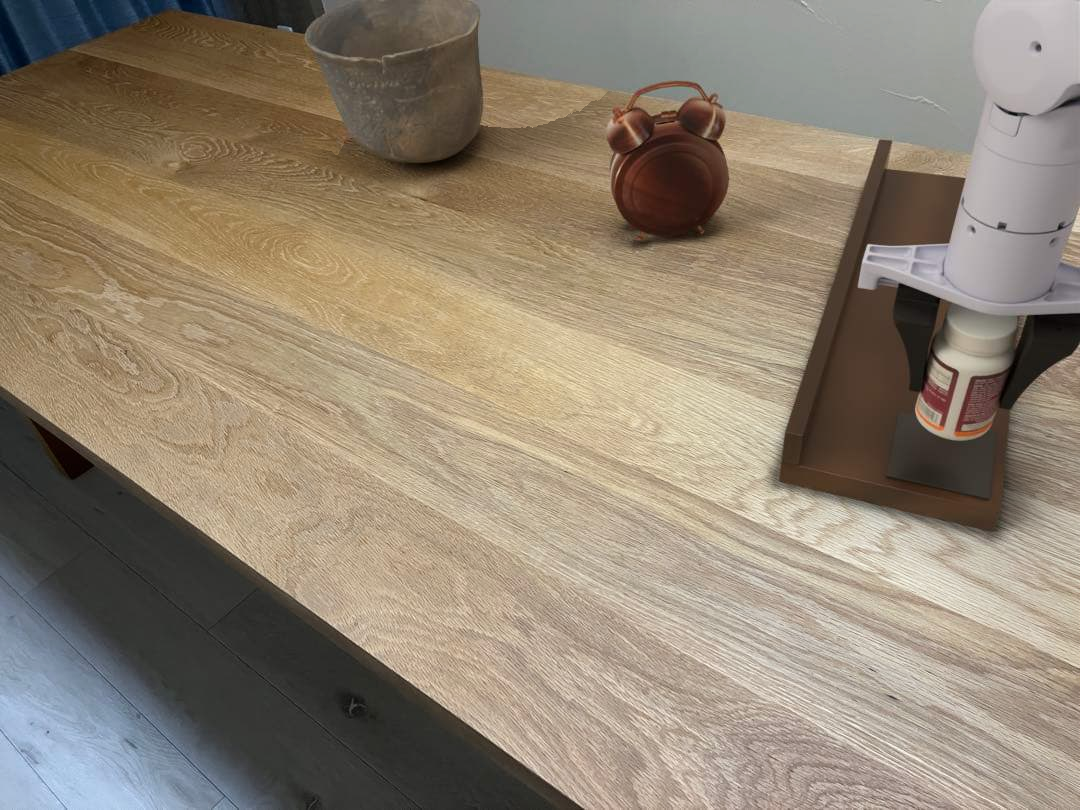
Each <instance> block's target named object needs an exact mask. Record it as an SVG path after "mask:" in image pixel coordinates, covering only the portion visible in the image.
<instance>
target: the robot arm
mask: <svg viewBox="0 0 1080 810" xmlns="http://www.w3.org/2000/svg"><path fill="white" fill-rule="evenodd" d="M974 29H975V30H974V34H973V39H972V61H973V67H974V72H975V74H976V77H977V80H978V82H979V84H980V86H981V88H982V90H983V91H984V93H985V94H986V96H985V101H984V103H983V104H984V105H983V109H982V112H981V116H980V120H979V123H978V127H977V128H978V129H977V133H976V137H975V140H974V145H973V147H972V152H971V156H970V160H969V164H968V168H967V172H966V175H965V178H966V179H965V183H964V187H963V191H962V195H961V199H960V203H959V207H958V210H957V215H956V218H955V222H954V226H953V230H952V234H951V238H950V242H949V244H930V245H909V246H882V245H873V244H868V245H867V247H866V251H865V254H864V257H863V261H862V266H861V271H860V277H859V282H858V288H863V289H869V290H875V289H877V287H878V284H879V285H885V286H891V287H898V289H897V294H896V298H895V302H894V307H893V320H894V325H895V326H896V328H897V330H898V332H899V334H900V336H901V339H902V341H903V344H904V347H905V350H906V354H907V358H908V364H909V373H910V384H909V390H910V391H915V392H920V390H921V387H922V383H923V378H924V373H925V366H926V362H927V357H928V350H929V345H930V342H931V338H932V335H933V332H934V328H935V323H936V318H937V312H938V308H939V304H940V299H941V298H942V299H944V300H947V301H950V302H952V303H955V304H958V305H960V306H963V307H966V308H968V309H971V310H974V311H977V312H981V313H985V314H991V315H1000V316H1016V315H1019V316H1026V318H1025V320H1024V325H1023V327H1022V331H1021V334H1020V337H1019V339H1018V342H1017V345H1016V350H1015V358H1014V361H1013V364H1012V367H1011V369H1010V373H1009V375H1008V378H1007V381H1006V384H1005V387H1004V390H1003V393H1002V396H1001V399H1000V402H999V408H1002V409H1008V410H1010V411H1011V410H1012V408H1013V407H1014V405H1015V404H1016V403H1017V401H1018V400H1019V398H1020V397H1021V395H1023V393H1024V392H1025V391H1026V390H1027V389H1028V388H1029V387H1030V385H1032V384H1033V383H1034V382H1035V381H1036V379H1038V378H1039V377H1040V376H1041V375H1042V374H1043V373H1045V372H1046V371H1047V370H1049V369H1050V368H1051V367H1053V366H1054V365H1056V364H1057V363H1059V362H1060V361H1063V360H1065V359H1067V358H1068V357H1070V356H1072V355H1073V354H1074V353H1075V352H1076V350H1077V349H1078V348H1079V346H1080V266H1078V265H1076V264H1072V263H1069V262H1066V261H1063V260H1062V259H1063V255H1064V253H1065V251H1066V247H1067V244H1068V241H1069V239H1070V237H1071V233H1072V231H1073V228H1074V225H1075V222H1076V220H1077V216H1078V213H1079V210H1080V0H990V1H989V2H988V3H987V4H986V6H985V7H984V9H983V10H982V12H981V13H980V16H979V18H978V20H977V23H976V27H975V28H974Z"/></svg>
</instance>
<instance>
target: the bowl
mask: <svg viewBox="0 0 1080 810" xmlns="http://www.w3.org/2000/svg"><path fill="white" fill-rule="evenodd" d="M480 18H481V9H480V7H479V6H478V4H477V3H476V2H475V1H473V0H352V1H348V2H345V3H342V4H340V5H338V6H336V7H334V8H332V9H329V10H328V11H327V12H325V13H323V14H322V15H321V16H319V17H317V18H315V19H314V20H313V21H312V22H311V23H310V25H309V26H308V27H307V29H306V31H305V32H304V41H305V43H306V45H307V46H308V48H309V49H310V51H311V52H312V53H313V56H314V57H315V58H316V61H317V63H318V64H319V67H320V69H321V72H322V74H323V76H324V79H325V81H326V83H327V86H328V88H329V90H330V94H331V96H332V99H333V102H334V104H335V106H336V109H337V111H338V113H339V115H340V118H341V119H342V121H343V124H344V126H345V129H346V130H347V133H348V134H349V136H350V137H351V138H352V140H353V141H354V142H355V143H356V144H358V145H359V146H360V147H361V148H363V149H364V150H365V151H367V152H368V153H371V154H372V155H374V156H377V157H380V158H383V159H385V160H389V161H391V162H394V163H395V162H396V163H409V164H410V163H411V164H425V163H426V164H427V163H432V162H437V161H441V160H445V159H447V158H451V157H453V156H455V155H457V154H458V153H459V152H461V151H462V150H463V149H465V148H466V147H467V146H468V145H469V144H470V142H471V141H473V139H474V138H475V136H477V134H478V132H479V129H480V127H481V122H482V117H483V116H482V115H483V111H484V89H483V80H482V79H483V77H482V75H481V62H480V48H479V25H480V20H481V19H480Z"/></svg>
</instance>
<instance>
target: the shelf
mask: <svg viewBox="0 0 1080 810" xmlns="http://www.w3.org/2000/svg"><path fill="white" fill-rule="evenodd" d="M892 144H893V140H892V139H891V140H890V139H881V138H879V139H878V141H877V145H876V148H875V151H874V155H873V157H872V160H871V165H870V167H869V170H868V173H867V176H866V180H865V183H864V185H863V188H862V192H861V194H860V198H859V200H858V204H857V208H856V210H855V213H854V217H853V220H852V223H851V225H850V229H849V232H848V236H847V239H846V241H845V245H844V248H843V251H842V254H841V258H840V260H839V264H838V267H837V270H836V273H835V275H834V279H833V282H832V285H831V288H830V291H829V294H828V297H827V301H826V303H825V306H824V310H823V313H822V316H821V318H820V319H821V320H820V323H819V325H818V329H817V331H816V334H815V338H814V341H813V344H812V347H811V350H810V354H809V357H808V359H807V362H806V366H805V369H804V372H803V375H802V378H801V381H800V384H799V388H798V391H797V394H796V397H795V399H794V403H793V407H792V409H791V412H790V416H789V419H788V422H787V425H786V428H785V431H784V438H783V444H782V452H781V459H780V467H779V476H778V481H779V482H781V483H786V484H790V485H794V486H799V487H802V488H807V489H811V490H815V491H820V492H823V493H828V494H833V495H837V496H841V497H845V498H848V499H853V500H858V501H862V502H866V503H870V504H875V505H877V506H878V505H879V506H882V507H883V506H884V507H886V508H891V509H895V510H899V511H904V512H908V513H913V514H916V515H922V516H925V517H928V518H934V519H937V520H941V521H946V522H950V523H955V524H959V525H964V526H967V527H972V528H976V529H980V530H985V531H988V532H994V530H995V528H996V525H997V524H998V520H999V518H1000V515H1001V512H1002V502H1003V492H1004V481H1005V471H1006V470H1005V469H1006V461H1007V449H1008V440H1009V439H1008V438H1009V429H1010V417H1011V409H1010V410H1008V409H1002V408H999V405H998V407H997V410H996V414H995V416H994V419H993V422H992V425H991V427H990V428H989V430H988V431H987V432H986V433H984V434H983V435H982V436H980V437H977V438H974V439H971V440H963V441H957V440H950V439H946V438H943V437H940V436H938V435H935V434H933V433H931V432H930V431H928V430H927V429H926V428H925V427H923V426H922V425H921V423H920V422H919V420H918V419H917V416H916V413H915V406H916V402H917V398H918V394H919V392H915V391H910V390H909V384H910V373H909V364H908V358H907V354H906V350H905V347H904V344H903V341H902V339H901V336H900V334H899V332H898V330H897V328H896V326H895V325H894V320H893V307H894V302H895V298H896V294H897V289H898V287H891V286H885V285H879V284H878V287H877V289H875V290H869V289H863V288H858V282H859V277H860V271H861V266H862V261H863V257H864V254H865V251H866V247H867V245H868V244H873V245H882V246H909V245H930V244H949V242H950V238H951V234H952V230H953V226H954V222H955V218H956V215H957V210H958V207H959V203H960V199H961V195H962V191H963V187H964V183H965V179H966V177H961V176H954V175H953V176H952V175H944V174H936V173H926V172H920V171H919V172H918V171H910V170H909V171H908V170H900V169H891V168H888V166H889V161H890V156H891V151H892V146H893V145H892ZM951 304H952V302H950V301H947V300H944V299H942V298H941V299H940V304H939V308H938V312H937V318H936V323H935V328H934V332H933V335H932V338H931V342H932V339H933V337H934V335H935V334H936V332H937V331H938V330H939V329H940V328H942V326H943V322H944V318H945V314H946V311H947V309H948V307H949V306H950V305H951ZM1017 316H1018V319H1019V320H1020V315H1017ZM1018 332H1019V329H1018V330H1017V333H1016V337H1015V340H1014V342H1013V343H1014V346H1015V350H1016V348H1017V345H1018ZM931 342H930V345H929V350H928V355H929V351H930V347H931ZM927 359H928V357H927Z"/></svg>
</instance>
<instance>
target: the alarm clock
mask: <svg viewBox="0 0 1080 810" xmlns="http://www.w3.org/2000/svg"><path fill="white" fill-rule="evenodd" d="M674 87H683V88H684V87H686V88H693V89H694V90H696V91H698V93H700V96H693V97H690V98H688V99H687V100H686V101H685V102H683V104H682V105H681V106H680V107H679V108H678V110H675V109H671V110H663V111H661V113H658V114H654V115H650V114H649V112H647V111H646V110H645V109H643V108H642V107H639V106H636V105H635V102H636V101H637V99H638V98H639V97H640V96H642V95H644V94H647V93H649V92H652V91H657V90H660V89H664V88H665V89H667V88H674ZM718 99H719V95H718V93H716V92H713V93H712V94H710V96H709V97H708V95H707V94H706V92H705V91H704V89H703V88H702V86H701V85H700V84H698V83H697V82H693V81H688V80H687V81H686V80H669V81H663V82H662V81H661V82H658V83H655V84H651V85H648V86H645V87H643V88H640V89H638V90H636V91H635V92H634V93H633V94H632V97H631V99H630V100H629V102H628V104H627V106H626V107H624V108H622V109H620V108H618V107H614V108H613V110H612V114H613V116H611V118H609V121H608V123H607V125H606V128H605V137H606V141H607V143H608V145H609V147H610V149H611V151H612V154H611V157H610V162H609V184H610V190H611V194H612V195H611V196H612V198H613V201H614V203H615V206H616V207H617V210H618V212H619V213H620V215H621V217H622V218H623V219H624V220H625V221H626V222H627V223H628V224H629V226H630V227H631V228H634V229H636V230H637V231H639V235H638V236H636V240H637V241H639V242H640V241H642V240H643V236H644V235H645V234H647V235H650V236H656V237H672V236H677V235H682V234H686V233H688V232H691V231H692V230H695V229H697V230H698V232H699V234H701V235H702V234H704V233H705V229H704V228H703V227H702V225H704V224H705V223H706V222H707V221H708V220H709V219H711V218H712V217H713V216H714V215H715V214H716V213H717V212H718V210H719V209H720V208H721V206H722V205H723V203H724V201H725V199H726V195H727V194H728V189H729V185H730V184H729V183H730V173H729V167H728V163H727V158H726V155H725V152H724V150H723V147H722V145H721V144H720V142H719V140H720V138H721V137H722V135H723V133H724V130H725V127H726V124H727V116H726V113H725V112H724V110H723V109H724V106H723V105H722V104H721V103H718V102H717V101H718ZM634 105H635V106H634Z"/></svg>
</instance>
